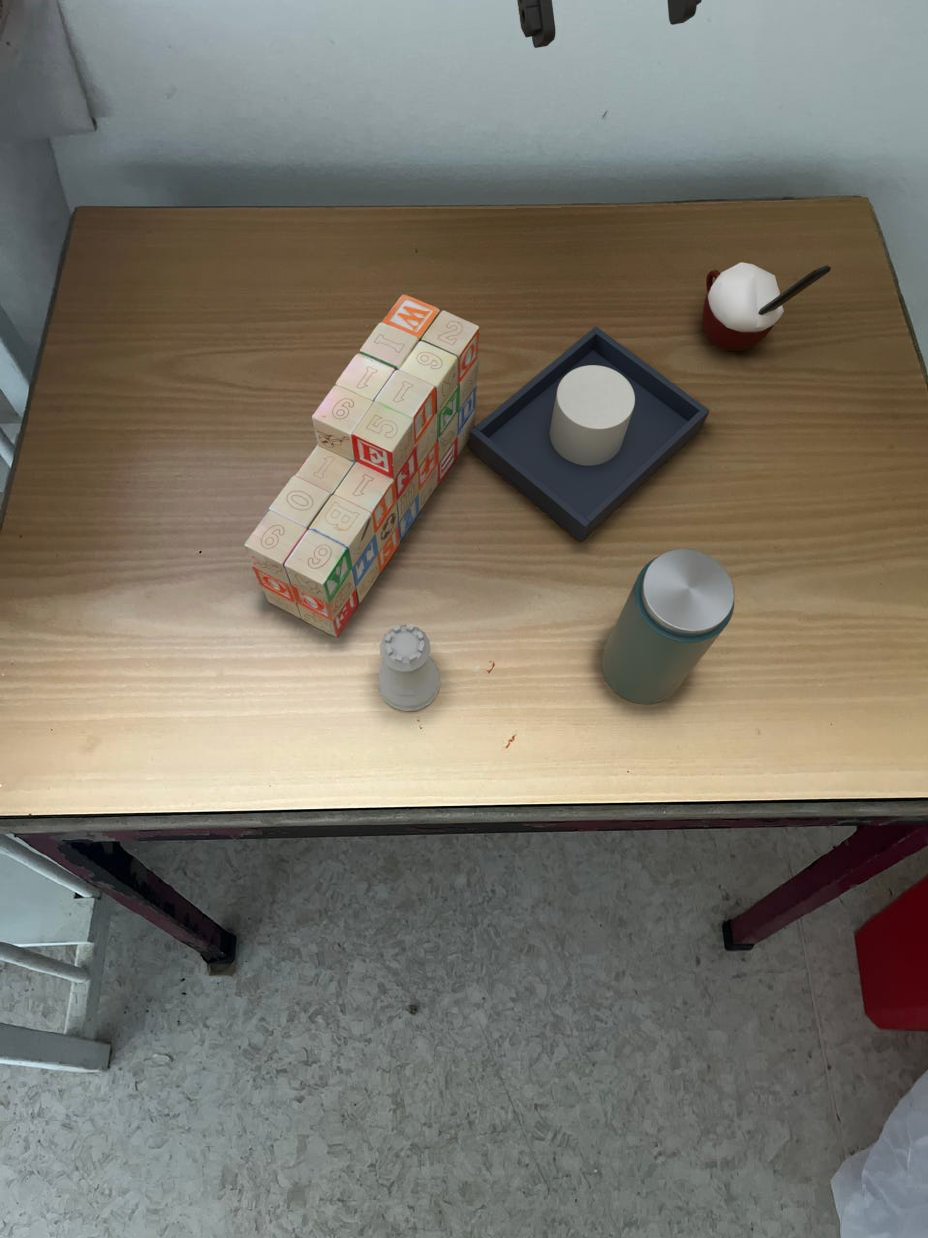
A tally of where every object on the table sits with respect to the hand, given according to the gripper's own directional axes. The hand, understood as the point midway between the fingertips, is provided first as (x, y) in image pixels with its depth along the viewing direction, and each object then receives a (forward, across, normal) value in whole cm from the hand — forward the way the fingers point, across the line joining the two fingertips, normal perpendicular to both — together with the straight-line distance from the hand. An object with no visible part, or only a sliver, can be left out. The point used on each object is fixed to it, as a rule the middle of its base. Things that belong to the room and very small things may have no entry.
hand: (615, 31), depth 49 cm
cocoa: (+21, +15, +17) cm, 31 cm away
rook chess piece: (+37, -20, +1) cm, 42 cm away
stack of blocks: (+27, -19, +11) cm, 35 cm away
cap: (+25, -1, +12) cm, 28 cm away
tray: (+26, -1, +12) cm, 28 cm away
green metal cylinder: (+40, -4, -2) cm, 40 cm away
